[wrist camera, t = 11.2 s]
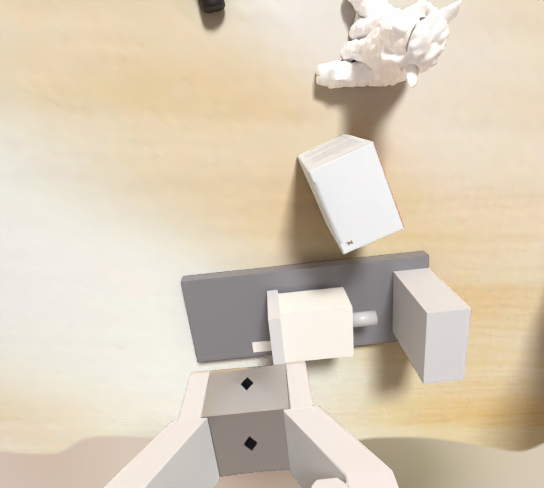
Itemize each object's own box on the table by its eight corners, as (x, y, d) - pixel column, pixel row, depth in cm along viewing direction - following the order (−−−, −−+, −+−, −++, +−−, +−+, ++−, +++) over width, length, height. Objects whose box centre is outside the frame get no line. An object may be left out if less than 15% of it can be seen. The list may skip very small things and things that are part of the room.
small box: (370, 200, 40) (406, 230, 30) (323, 221, 41) (343, 257, 31) (345, 131, 38) (375, 139, 28) (295, 154, 38) (307, 171, 28)
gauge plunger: (274, 355, 44) (276, 391, 39) (267, 290, 41) (268, 319, 36) (370, 346, 44) (386, 380, 39) (369, 280, 41) (386, 307, 36)
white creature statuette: (350, -27, 33) (397, -96, 22) (434, 13, 34) (519, -33, 23) (309, 82, 36) (332, 70, 25) (388, 114, 37) (444, 117, 26)
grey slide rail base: (199, 354, 46) (182, 420, 37) (183, 276, 43) (160, 326, 33) (419, 331, 46) (462, 391, 36) (423, 250, 42) (472, 293, 33)
